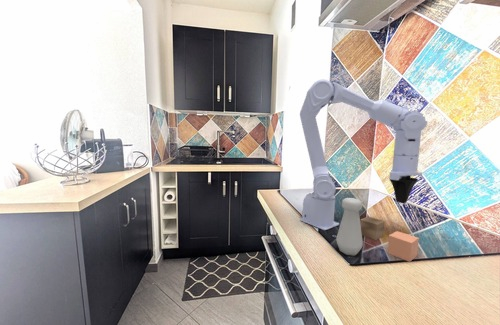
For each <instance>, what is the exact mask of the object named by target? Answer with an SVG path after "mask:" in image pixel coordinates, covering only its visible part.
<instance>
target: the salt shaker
mask: <svg viewBox="0 0 500 325" xmlns="http://www.w3.org/2000/svg"><path fill="white" fill-rule="evenodd" d="M341 206H342V208H343V214H342V218H341V221H340V223H339V229H338V231H337V235H336V237H335V238H336V239H335V240H336V243H337V246H338V250H339V252H341V253H342V254H344V255H345V256H346V255H347V256H354V257H355V256H357V255H358V254H359V253H360V251H361V249H362V248H363V245H364V241H363V235H362V232H361V224H360V218H361V217H360V211H362V209H363V202H362V201H361V200H360V199H357V198H355V197H346V198H344V199H342V201H341Z"/></svg>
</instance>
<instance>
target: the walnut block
mask: <svg viewBox="0 0 500 325" xmlns="http://www.w3.org/2000/svg"><path fill="white" fill-rule="evenodd" d="M385 222H386V221H385V220H381V219H378V218H375V217H371V216H366V217H364V218H361V219H360V224H361V232H362V237H365V238H369V239H371V240H374V241H378V240H380V239H381V238H383V237H384V231H385Z"/></svg>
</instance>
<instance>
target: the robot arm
mask: <svg viewBox="0 0 500 325" xmlns="http://www.w3.org/2000/svg"><path fill="white" fill-rule="evenodd" d="M329 103H330V104H331V105H334V104H339V103H344V104H346V105H349V106H351V107H354V108H356V109H359V110H361V111H365V112H367V114H368V115H369V119H371V120H373V121H376V122H377V123H381V124H382V125H386V126H388V127H390V128H393V131H395V138H394V147H393V155H392V156H393V157H392V158H393V159H392V166H391V167H392V168H391V171H390V172H389V181H390V183H391V186H392V187H393V192H394V197H395V201H396V203H401V204H407V203H408V199H409V197H410V194H411V191H412V189H413V188H414V186H415V185H416V184H417V182H418V181H419V179H418V178H415V177H416V176H422V175H423V172H422V171H418V169H419V168H418V166H419V157H420V150H421V149H420V147H421V135H422V131H423V130H424V129H425V128H426V127H427V125H428V121H427V120H426V117H425V116H424V114H423V113H421V111H417V110H411V111H409V110H410V108H409V107H407V106H404V107H402V106H400V105H398V104H394V103H393V100H391V99H389V98H386V99H385V100H384V99H382V98H381V99H378V100H376V101H375V100H373V99H372V98H371V99H370V98H368V97H367V96H364V95H363V94H360V93H358V92H356V91H353V90H351V89H350V88H347V87H346V86H344V85H341V84H339V83H338V82H331V81H330V80H328V79H325V78H324V79H318V80H317V81H314V82H313V84H312V85H311V86H310V87H309V89H308V90H307V92H306V95H305V99H304V101H303V103H302V107H301V109H300V112H299V118H300V121H301V126H302V130H303V131H302V132H303V134H304V140H305V143H306V147H307V152H308V156H309V160H310V161H309V162H310V166H311V170H312V175H313V182H312V185H313V186H312V189H313V192H312V193H308V194H306V195H305V196H304V198H303V201H302V215H301V216H302V218H300V221H301V222H303V223H305V224H308V225H310V226H313V227H315V228H318V229H320V230H322V231H326V230H329V229H332V228H335V227H337V226H340V222H337V221H335V209H336V208H335V206H336V196H335V194H336V191H337V190H336V189H337V188H336V185H335V183H334V180H333V179H332V177H331V176H330V173H329V169H328V166H327V161H326V157H325V153H324V149H323V144H322V143H323V142H322V139H321V135H320V131H319V125H318V122H317V118H316V117H317V115H319V113H320V111H321V110H322V109H323V108H324V107H326V106H327V105H328V104H329Z"/></svg>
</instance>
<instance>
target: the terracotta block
mask: <svg viewBox="0 0 500 325" xmlns="http://www.w3.org/2000/svg"><path fill="white" fill-rule="evenodd" d="M419 241H420V238H419V237H418V236H414V235H410V234H408V233H404V232H401V231H398V230H396V231H394V232H393V233H391V234H389V235H388V242H387V252H386V253H387V254H389V255H391V256H394V257H397V258H399V259H401V260H404V261H407V262H409V263H410V262H412V260H414V259H415V258H416V257H417V256H418V251H419V250H418V248H419Z"/></svg>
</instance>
